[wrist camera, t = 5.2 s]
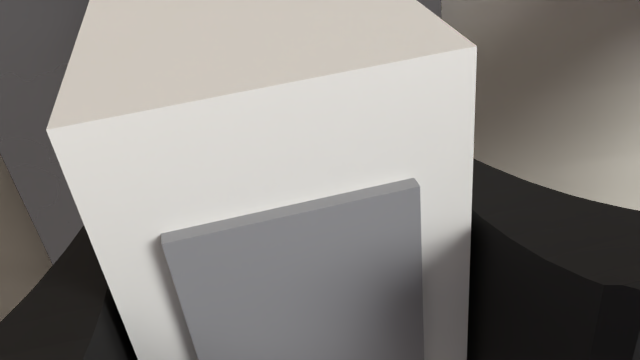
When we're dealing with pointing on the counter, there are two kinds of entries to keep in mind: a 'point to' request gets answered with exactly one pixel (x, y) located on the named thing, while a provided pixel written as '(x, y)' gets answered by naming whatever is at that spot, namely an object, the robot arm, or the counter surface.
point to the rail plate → (44, 108)
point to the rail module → (275, 175)
